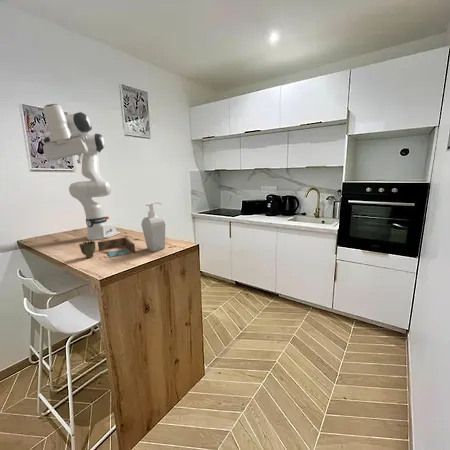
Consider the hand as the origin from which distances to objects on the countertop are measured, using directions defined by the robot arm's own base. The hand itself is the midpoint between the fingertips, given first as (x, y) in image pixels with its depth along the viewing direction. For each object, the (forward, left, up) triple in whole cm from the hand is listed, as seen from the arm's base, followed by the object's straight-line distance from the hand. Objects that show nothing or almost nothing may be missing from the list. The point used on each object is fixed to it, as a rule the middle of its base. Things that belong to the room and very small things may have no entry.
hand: (70, 165), depth 131 cm
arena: (-8, +14, -48) cm, 50 cm away
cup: (+4, +7, -48) cm, 49 cm away
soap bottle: (-18, +34, -48) cm, 61 cm away
